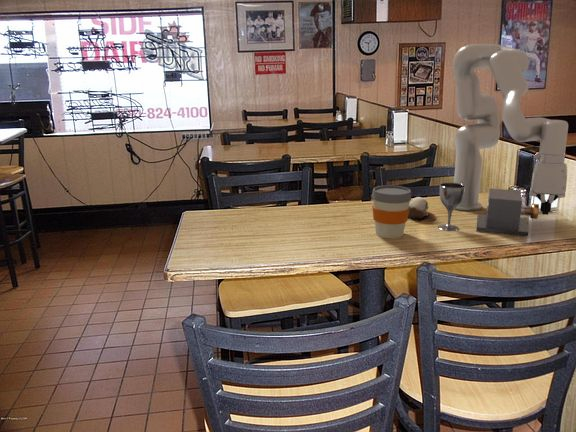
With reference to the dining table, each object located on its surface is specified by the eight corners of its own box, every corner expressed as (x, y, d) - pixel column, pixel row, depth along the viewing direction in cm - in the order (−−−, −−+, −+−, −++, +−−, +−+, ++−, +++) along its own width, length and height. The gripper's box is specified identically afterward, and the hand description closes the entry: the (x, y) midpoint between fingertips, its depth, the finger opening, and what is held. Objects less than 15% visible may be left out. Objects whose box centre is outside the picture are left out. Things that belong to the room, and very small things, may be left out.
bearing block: (476, 231, 181) (479, 198, 178) (477, 217, 195) (480, 187, 192) (528, 236, 176) (532, 202, 172) (525, 222, 190) (529, 190, 187)
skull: (408, 207, 205) (427, 190, 199) (425, 229, 203) (445, 212, 196) (393, 213, 196) (412, 196, 190) (411, 236, 193) (431, 219, 187)
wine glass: (462, 225, 187) (466, 183, 182) (458, 232, 180) (463, 188, 175) (438, 223, 190) (442, 181, 185) (434, 229, 183) (438, 186, 179)
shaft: (486, 216, 184) (487, 202, 182) (486, 212, 188) (487, 198, 187) (537, 220, 179) (539, 206, 177) (536, 216, 183) (538, 202, 182)
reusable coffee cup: (363, 230, 182) (364, 187, 178) (394, 226, 187) (397, 183, 182) (383, 242, 171) (386, 196, 167) (416, 237, 176) (419, 192, 171)
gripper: (527, 160, 173) (521, 215, 178) (579, 161, 169) (571, 218, 174) (525, 156, 180) (519, 209, 185) (575, 157, 176) (568, 212, 181)
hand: (544, 213), depth 179 cm, fingers closed
